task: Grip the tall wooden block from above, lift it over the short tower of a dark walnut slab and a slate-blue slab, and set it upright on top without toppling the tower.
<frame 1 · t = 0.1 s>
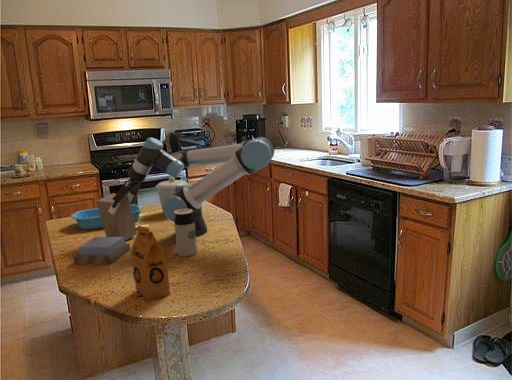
hand: (118, 208, 190), 15 cm above the counter, tool tilted 35°, fingers open, 13 cm apart
canister: (175, 213, 239), on the counter
casserole dish: (109, 223, 226), on the counter
coffee package: (153, 293, 138), on the counter
walnut slab: (103, 257, 175), on the counter, touching slate slab
slate slab: (102, 249, 174), point 3 cm above the counter, touching walnut slab
wooden block: (122, 237, 197), point 1 cm above the counter, touching gripper
travel mug: (187, 253, 173), on the counter
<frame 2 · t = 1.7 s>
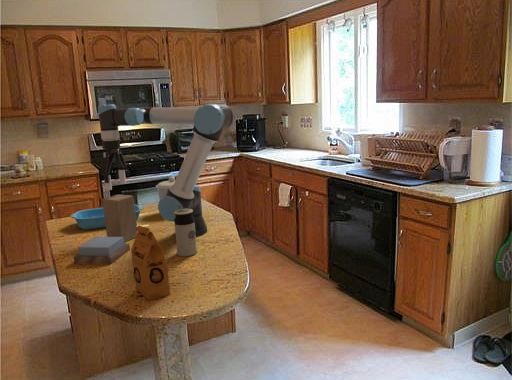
hand: (116, 186, 191), 25 cm above the counter, tool pointing down, fingers open, 13 cm apart
wooden block: (122, 239, 197), on the counter
everything else where it was.
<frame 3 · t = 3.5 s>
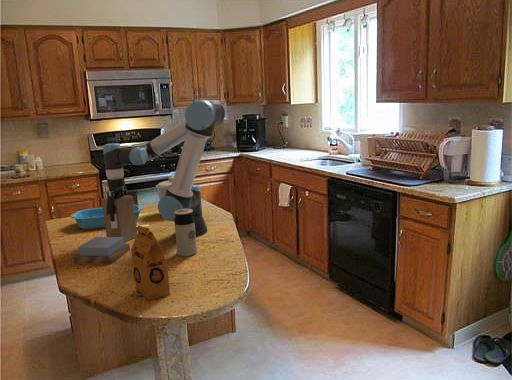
hand: (121, 223, 195), 7 cm above the counter, tool pointing down, fingers closed on wooden block, 12 cm apart
wooden block: (122, 239, 196), on the counter, touching gripper
everything else where it was.
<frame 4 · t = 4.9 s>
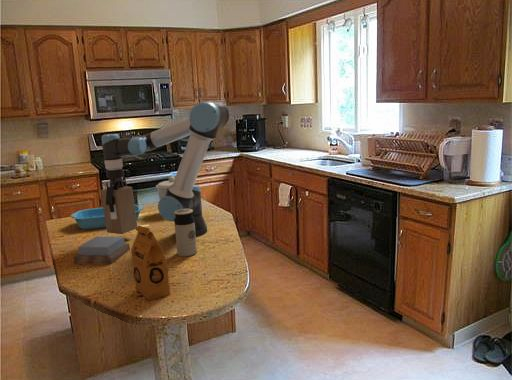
hand: (120, 215, 194), 12 cm above the counter, tool pointing down, fingers closed on wooden block, 12 cm apart
wooden block: (122, 230, 195), point 4 cm above the counter, touching gripper
everything else where it was.
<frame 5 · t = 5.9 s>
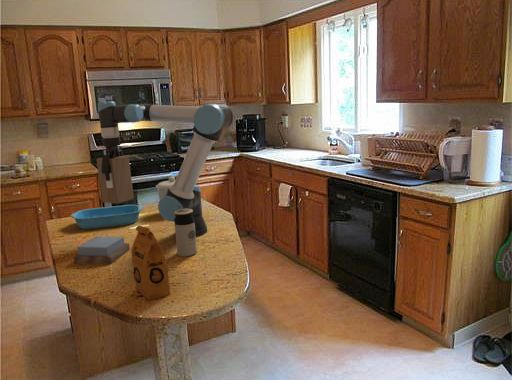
hand: (116, 185, 191), 26 cm above the counter, tool pointing down, fingers closed on wooden block, 12 cm apart
wooden block: (118, 201, 192), point 18 cm above the counter, touching gripper
everything else where it was.
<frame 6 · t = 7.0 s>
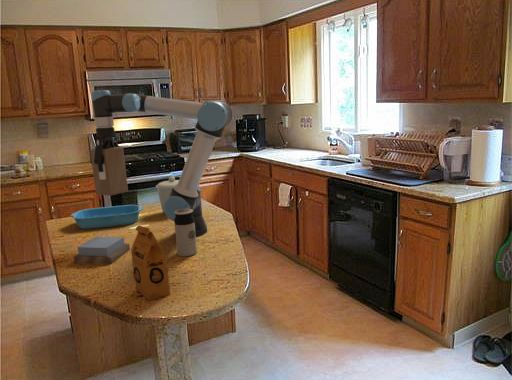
hand: (110, 176, 186), 30 cm above the counter, tool pointing down, fingers closed on wooden block, 12 cm apart
wooden block: (112, 193, 187), point 23 cm above the counter, touching gripper
when the fingers open (16 cm above the counter, at t = 10.8 s): wooden block drops 2 cm, point 6 cm above the counter.
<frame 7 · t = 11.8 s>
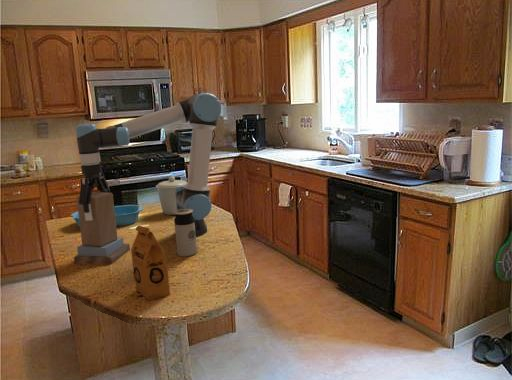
hand: (98, 215, 171), 18 cm above the counter, tool pointing down, fingers open, 13 cm apart
wooden block: (100, 242, 173), point 6 cm above the counter
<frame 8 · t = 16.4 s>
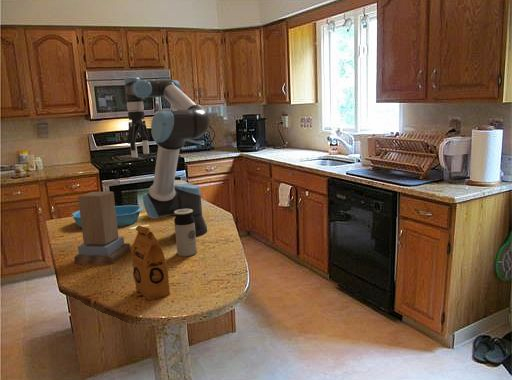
hand: (140, 155, 205), 37 cm above the counter, tool pointing down, fingers open, 13 cm apart
slate slab: (102, 249, 174), point 3 cm above the counter, touching walnut slab, wooden block
wooden block: (101, 241, 173), point 6 cm above the counter, touching slate slab
at the end: wooden block 0.6 cm off-centre on the slate slab, point 3.6 cm above the slate slab's base; slate slab 0.4 cm off-centre on the walnut slab, point 3.5 cm above the walnut slab's base; wooden block tilted 2° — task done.
